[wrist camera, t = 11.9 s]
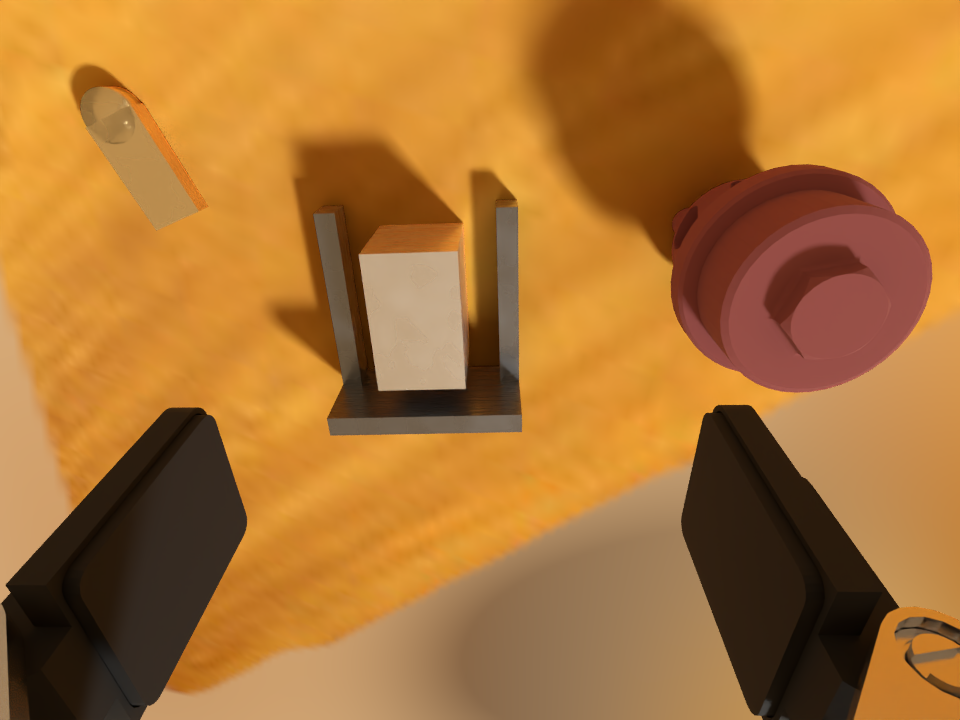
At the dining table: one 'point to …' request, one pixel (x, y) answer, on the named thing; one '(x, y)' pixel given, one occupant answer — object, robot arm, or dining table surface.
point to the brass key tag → (140, 155)
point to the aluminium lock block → (417, 305)
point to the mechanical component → (798, 277)
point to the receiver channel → (420, 411)
